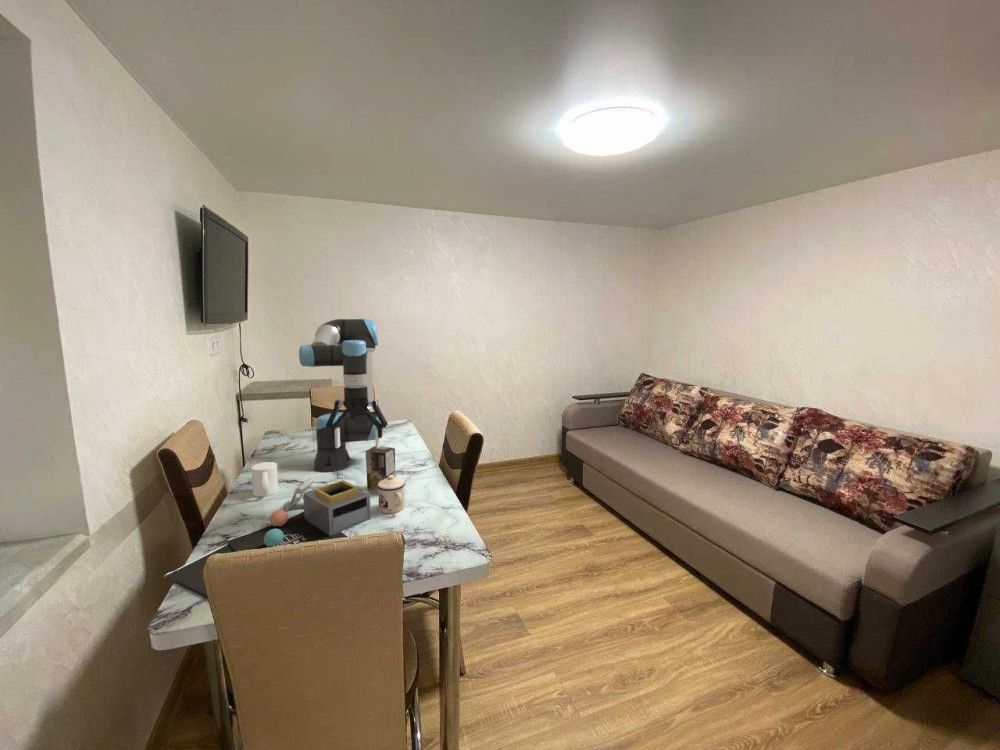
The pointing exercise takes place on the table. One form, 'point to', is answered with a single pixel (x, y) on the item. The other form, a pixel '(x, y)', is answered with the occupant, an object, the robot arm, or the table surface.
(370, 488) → the coffee box
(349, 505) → the grey slotted box
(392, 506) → the teacup with lid
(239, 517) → the table surface
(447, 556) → the table surface
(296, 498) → the portable electronic device stand
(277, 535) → the ball teal
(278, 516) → the ball terracotta
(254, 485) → the mug
